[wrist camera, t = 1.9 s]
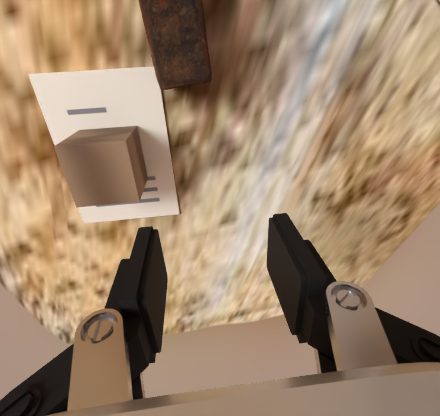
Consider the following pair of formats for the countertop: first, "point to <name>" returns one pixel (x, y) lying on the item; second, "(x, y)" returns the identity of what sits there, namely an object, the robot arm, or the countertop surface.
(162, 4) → the brick
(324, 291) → the robot arm
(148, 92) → the letter
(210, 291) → the countertop surface
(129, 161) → the walnut block
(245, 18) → the countertop surface
